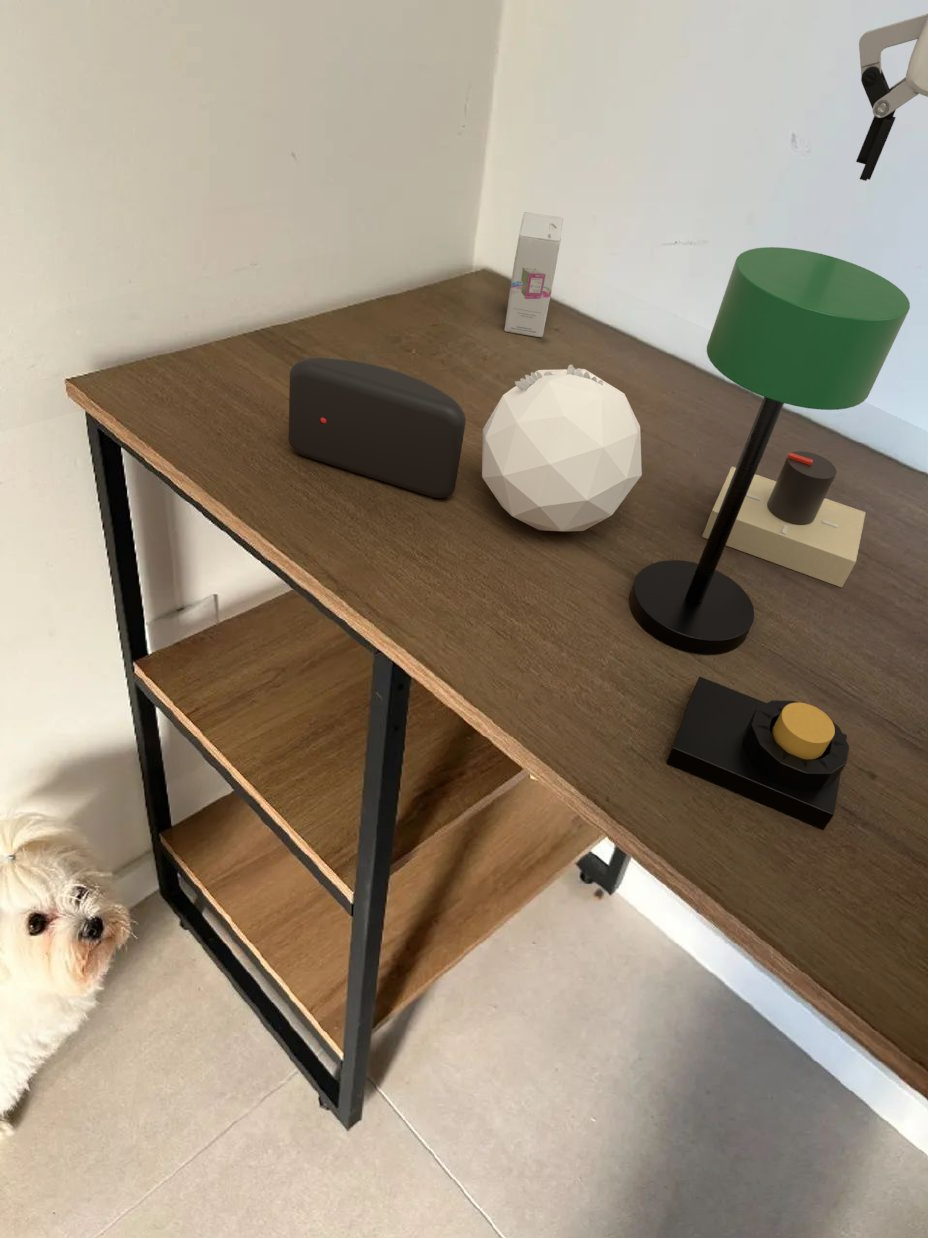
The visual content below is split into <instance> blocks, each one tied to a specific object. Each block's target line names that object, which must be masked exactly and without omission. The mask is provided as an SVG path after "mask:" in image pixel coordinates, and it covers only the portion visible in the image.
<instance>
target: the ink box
mask: <svg viewBox="0 0 928 1238" xmlns="http://www.w3.org/2000/svg"><path fill="white" fill-rule="evenodd" d="M563 221H564V218H563V217H561V216H557V215H556V216H555V215H548V214H540V213H533V212H523V215H522V219H521V224H520V229H519V234H518V239H517V246H516V250H515V256H514V262H513V268H512V272H511V273H512V274H511V281H510V287H509V294H508V302H507V307H506V308H507V309H506V316H505V323H504V329H503V330H504V332H506V333H512V334H517V335H523V336H529V337H536V338H543V337H544V332H545V327H546V322H547V317H548V310H549V306H550V301H551V295H552V289H553V286H554V279H555V274H556V269H557V262H558V258H559V252H560V245H561V242H562V241H561V240H562V230H563Z"/></svg>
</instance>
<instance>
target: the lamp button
mask: <svg viewBox="0 0 928 1238" xmlns="http://www.w3.org/2000/svg"><path fill="white" fill-rule="evenodd" d="M833 722H834V721H833ZM833 722H832V719H831V718H830V716H828V714H827V713H825V712H824V711H823V710H821V709H820V708H818V707H816V706H814V705H812V704H809V703H805V702H799V703H791V704H788V705H787V706H785V707H784V708H783V710H782V712H781V713H780V715H779V717H778V719H777V721H776V723H775V725H774V727H773V737H774V739H775V741H776V743H777V744H779V745H780V746H781V747H782V748H783V749H784V750H785V751H787V752H788V753H790V754H792V755H795V756H797V757H800V758H802V759H816V758H818V757H820V756H821V755H822V754H823V753H824V751H825V750H826V748H827V746H828V745H829V743H830V741H831V740H832V738H833V736H834V734H835V728H834V725H833Z"/></svg>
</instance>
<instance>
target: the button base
mask: <svg viewBox="0 0 928 1238" xmlns="http://www.w3.org/2000/svg"><path fill="white" fill-rule="evenodd" d="M791 703H800V702H798V701H796V700H778V699H777V700H775V699H773V700H770V701H768V702H765V701H762V700H760V699H758V698H755V697H752V696H750V695H748V694H746V693H743V692H740V691H738V690H735V689H732V688H731V687H728V686H725V685H723V684H720V683H717V682H715V681H713V680H711V679H708V678H706V677H702V676H700V675H699V676H698V678H697V680H696V683H695V685H694V687H693V690H692V692H691V694H690V697H689V700H688V702H687V705H686V708H685V711H684V714H683V717H682V719H681V722H680V724H679V727H678V729H677V733H676V735H675V738H674V741H673V743H672V746H671V748H670V751H669V753H668V754H669V755H668V757H667V759H666V764H667V765H669V766H672V767H674V768H676V769H678V770H681V771H684V772H685V773H688V774H690V775H693V776H695V777H697V778H700V779H702V780H704V781H707V782H709V783H711V784H714V785H716V786H719V787H721V788H724V789H725V790H728V791H730V792H733V793H734V794H735V793H736V794H737V795H740V796H742V797H745V798H747V799H749V800H752V801H754V802H756V803H758V804H761V805H763V806H766V807H768V808H769V809H773V810H776V811H778V812H780V813H783V814H784V815H787V816H789V817H792V818H794V819H796V820H798V821H801V822H803V823H806V824H808V825H811V826H813V827H815V828H818V829H821V830H822V831H824V830H825V829H826V827H827V826H828V824H829V823H830V821H831V820H832V819H833V818H834V815H835V810H836V804H837V798H838V792H839V785H840V780H841V775H842V771H843V770H844V768H845V767H846V765H847V762H848V757H849V756H848V755H849V751H850V745H849V743H848V741H847V739H848V735H847V734H846V733H843V731H842V729H841V728H840V726H839V725H838V724H836V723H835V722H834V721H832V720H831V721H832V722H833V725H834V728H835V734H834V736H833V738H832V740H831V741H830V743H829V745H828V746H827V748H826V750H825V751H824V753H823V754H822V755H821V756H820V757H818V758H816V759H802V758H800V757H797V756H795V755H792V754H790V753H788V752H787V751H785V750H784V749H783V748H782V747H781V746H780V745H779V744H777V743H776V741H775V739H774V737H773V727H774V725H775V723H776V721H777V719H778V717H779V715H780V713H781V712H782V710H783V708H784V707H785V706H787V705H788V704H791Z"/></svg>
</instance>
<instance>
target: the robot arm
mask: <svg viewBox="0 0 928 1238" xmlns="http://www.w3.org/2000/svg"><path fill="white" fill-rule="evenodd" d="M912 41H916V42H915V44H914V47H913V50H912V52H911V55H910V59H909V61H908V64H907V65H908V66H907V70H906V72H905V73H906V74H905V77H904V78H902V79H901V80H899V81H897V82H896V83H895V84H894V85H892V86H891V87H890V86H889V84H888V81H887V79H886V77H885V74H884V72H883V69H882V52H883V51H884V50H886V49H887V48H890V47H894V46H897V45H902V44H904V43H909V42H912ZM858 47H859V48H858V49H859V50H858V51H859V64H860V65H859V66H860V76H861V77H860V80H861V84H862V86H863V89H864V92H865V94H866V97H867V100H868V102H869V104H870V106H871V109H872V114H873V118H872V120H871V123H870V126H869V128H868V130H867V133H866V135H865V138H864V141H863V143H862V145H861V149H860V150H859V153H858V155H857V158H856V160H855V163H857V164H858V163H859V164H862V165H864V167H863V170H862V172H861V174H860V176H859V180H861V181H865V182H866V181H867V180H869V181H870V180H871V178H872V176H873V173H874V171H875V169H876V166H877V164H878V161H879V159H880V157H881V154H882V152H883V149H884V148H885V147H884V146H885V145H886V142H887V141H888V138H889V135H890V132H891V130H892V129H893V128H892V127H893V126H894V123H895V121H896V116H895V113H896V111H897V110H898V109H899V108H901V107H902V106H904V105H905V104H906V103H909V101H911V100H912V99H914V98H915V97H917V96H919V95H922V96H924V97H926V98H928V13H926V14H925V13H924V14H921V15H918V16H914V17H911V18H908V19H905V20H902V21H897V22H894V23H891V24H888V25H884V26H881V27H878V28H874V29H870V30H868V31H865V32H864V33H863V34H862V35H861V36H860V38H859V41H858Z"/></svg>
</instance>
